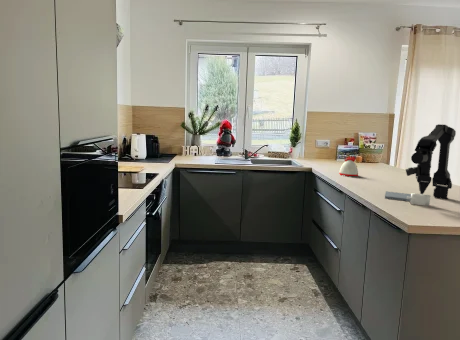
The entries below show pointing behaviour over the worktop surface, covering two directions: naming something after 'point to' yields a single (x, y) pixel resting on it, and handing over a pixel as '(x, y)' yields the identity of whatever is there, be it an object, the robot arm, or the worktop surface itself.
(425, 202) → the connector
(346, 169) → the kitchen timer
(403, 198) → the slate mat
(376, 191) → the worktop surface
